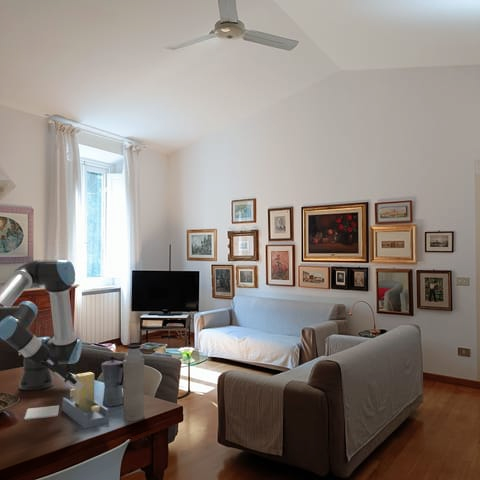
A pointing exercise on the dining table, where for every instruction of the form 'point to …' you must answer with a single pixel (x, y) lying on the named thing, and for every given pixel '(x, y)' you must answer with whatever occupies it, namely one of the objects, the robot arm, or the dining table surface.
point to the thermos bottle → (133, 384)
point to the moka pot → (112, 382)
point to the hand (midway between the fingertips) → (74, 383)
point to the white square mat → (42, 412)
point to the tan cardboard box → (85, 391)
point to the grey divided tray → (86, 413)
